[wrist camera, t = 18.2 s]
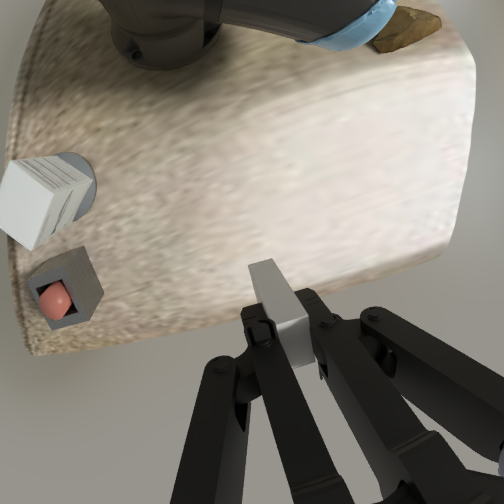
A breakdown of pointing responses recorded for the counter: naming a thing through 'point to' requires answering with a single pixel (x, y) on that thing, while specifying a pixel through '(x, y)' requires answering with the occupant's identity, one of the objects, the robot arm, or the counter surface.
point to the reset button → (55, 300)
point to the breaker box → (69, 285)
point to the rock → (406, 29)
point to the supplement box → (39, 198)
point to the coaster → (86, 169)
